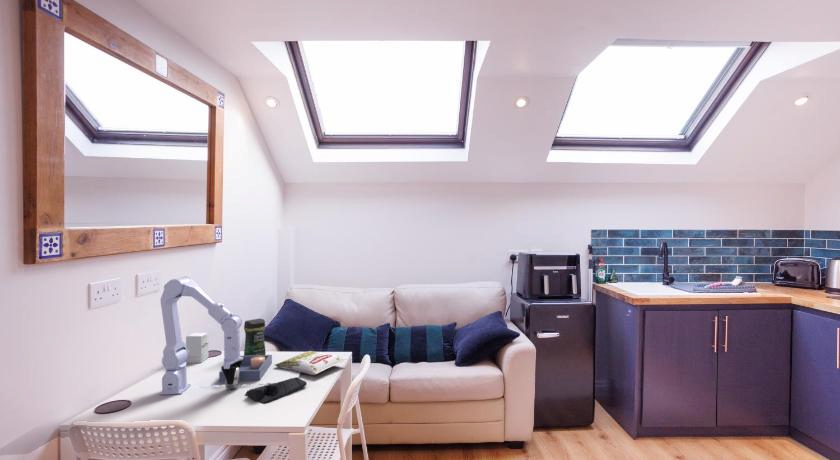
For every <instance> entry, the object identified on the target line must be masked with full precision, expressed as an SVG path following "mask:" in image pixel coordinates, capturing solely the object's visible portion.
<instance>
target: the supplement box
mask: <svg viewBox="0 0 840 460" xmlns="http://www.w3.org/2000/svg"><path fill="white" fill-rule="evenodd" d="M185 344H186V348H187V350H188V351H189V358H188V360H187V361H186V364H202V363H203V362H205V361H206V360H208V359H209V332H192V333H191V334H189V335H187V336H185Z"/></svg>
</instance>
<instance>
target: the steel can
mask: <svg viewBox="0 0 840 460" xmlns="http://www.w3.org/2000/svg"><path fill="white" fill-rule="evenodd" d="M238 387H240V381H239V367H237V369H236V371H235V376H234V382H233V384H227V381H226V382H225V388H226V389H235V388H238Z"/></svg>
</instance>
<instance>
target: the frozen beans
mask: <svg viewBox="0 0 840 460" xmlns="http://www.w3.org/2000/svg"><path fill="white" fill-rule="evenodd" d="M345 361H347V359H346V358H344V357H341V356H339V355H334V354H329V353H324V352H318V351H314V350H308V351H305V352H303V353H300V354H297V355H296V356H292V357H290V358H288V359H286V360H283V361H281V362H278V363H276V364H274V366H276V367H278V368H280V369H283V370H285V369H286V370H290V371H295V372H299V373H301V374H304V375H305V374H306V375H310V376H315V375H317V374H319V373H321V372H323V371H325V370H327V369H329V368H331V367H333V366H336V365H338V364H341V363H344V362H345Z"/></svg>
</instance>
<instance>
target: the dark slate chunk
mask: <svg viewBox="0 0 840 460" xmlns="http://www.w3.org/2000/svg"><path fill="white" fill-rule="evenodd" d="M307 384H308V383H307V381H306V380H303V379H302V378H299V377H298V376H297V377H290V378H289V379H285V380H281V381H278V382H273V383H269V384H265V385H261V386H256V387H254V388H250V389H249V390H246V392H245V394H244V397H246V398H247V397H248V398H249V400H251V401H253V402H256V403H257V402H258V403H262V404H267V403H268V404H269V402H272V401H275V400H278V399H281V398H282V397H285V396H287V395H290V394H292V393H294V392H296V391H299V390H301V389H303V387H306V386H307Z"/></svg>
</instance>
